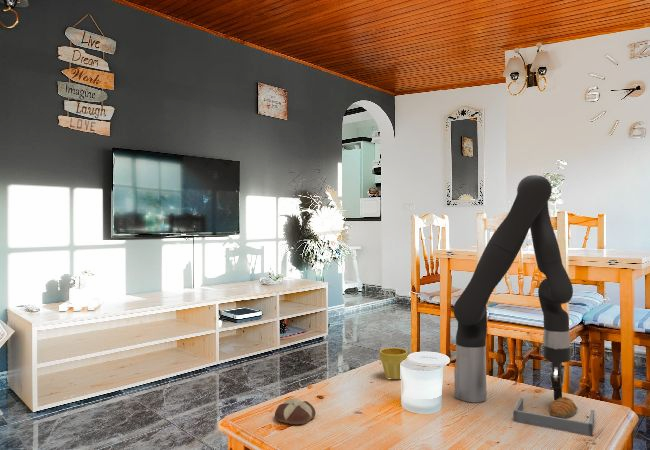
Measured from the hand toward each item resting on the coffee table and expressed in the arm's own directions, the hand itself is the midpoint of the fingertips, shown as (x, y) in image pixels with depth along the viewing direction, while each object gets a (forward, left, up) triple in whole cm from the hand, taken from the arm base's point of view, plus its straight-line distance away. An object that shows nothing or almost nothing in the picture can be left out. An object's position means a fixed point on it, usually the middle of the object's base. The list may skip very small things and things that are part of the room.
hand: (558, 400), depth 149 cm
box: (0, -12, -2) cm, 13 cm away
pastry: (+2, -6, -2) cm, 6 cm away
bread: (-65, -47, -2) cm, 81 cm away
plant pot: (-55, +1, -2) cm, 55 cm away
